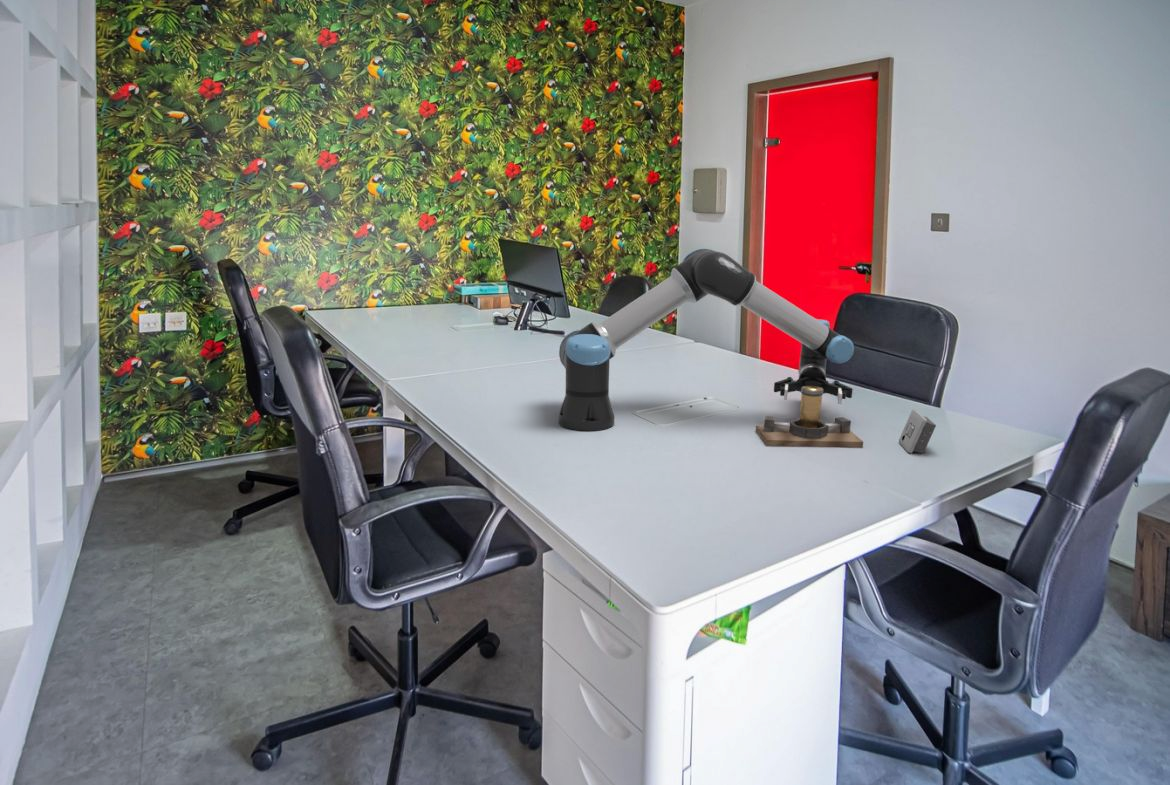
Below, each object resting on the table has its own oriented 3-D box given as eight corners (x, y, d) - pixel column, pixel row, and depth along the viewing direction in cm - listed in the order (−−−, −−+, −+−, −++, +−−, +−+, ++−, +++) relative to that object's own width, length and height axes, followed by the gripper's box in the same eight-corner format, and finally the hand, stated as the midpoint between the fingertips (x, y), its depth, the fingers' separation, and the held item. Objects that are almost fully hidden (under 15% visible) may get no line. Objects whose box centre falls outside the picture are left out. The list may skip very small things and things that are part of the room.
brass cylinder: (794, 433, 199) (798, 388, 196) (801, 429, 203) (805, 384, 200) (814, 437, 196) (819, 391, 193) (822, 432, 200) (826, 387, 197)
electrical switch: (897, 442, 198) (905, 408, 196) (918, 445, 198) (926, 410, 195) (908, 454, 189) (916, 418, 187) (929, 457, 188) (938, 421, 186)
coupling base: (766, 445, 193) (768, 427, 192) (755, 430, 206) (756, 413, 205) (862, 447, 193) (864, 429, 192) (845, 432, 206) (847, 415, 205)
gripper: (857, 395, 218) (862, 415, 198) (766, 388, 225) (762, 406, 205) (859, 369, 217) (865, 386, 197) (768, 363, 223) (764, 379, 203)
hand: (812, 396), depth 201 cm, fingers open, 13 cm apart
